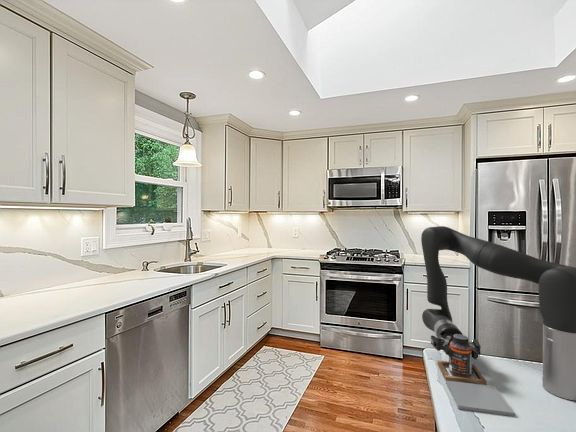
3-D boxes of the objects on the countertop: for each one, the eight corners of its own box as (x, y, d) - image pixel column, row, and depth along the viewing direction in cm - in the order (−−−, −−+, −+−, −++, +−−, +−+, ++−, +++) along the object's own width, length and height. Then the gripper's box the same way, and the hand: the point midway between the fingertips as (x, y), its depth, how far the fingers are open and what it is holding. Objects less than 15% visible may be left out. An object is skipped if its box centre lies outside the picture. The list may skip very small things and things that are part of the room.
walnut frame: (473, 368, 98) (473, 364, 98) (486, 385, 88) (486, 381, 88) (437, 364, 101) (437, 360, 101) (445, 381, 90) (445, 376, 90)
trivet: (493, 388, 86) (493, 385, 86) (514, 416, 75) (514, 412, 75) (445, 383, 89) (445, 380, 89) (458, 408, 77) (458, 405, 77)
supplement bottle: (448, 376, 93) (448, 337, 93) (449, 367, 98) (449, 331, 98) (472, 381, 90) (472, 341, 90) (471, 372, 95) (471, 334, 95)
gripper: (425, 321, 110) (436, 339, 93) (471, 324, 106) (491, 344, 90) (425, 342, 110) (436, 365, 93) (471, 346, 106) (491, 370, 90)
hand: (463, 354), depth 92 cm, fingers closed on supplement bottle, 6 cm apart
